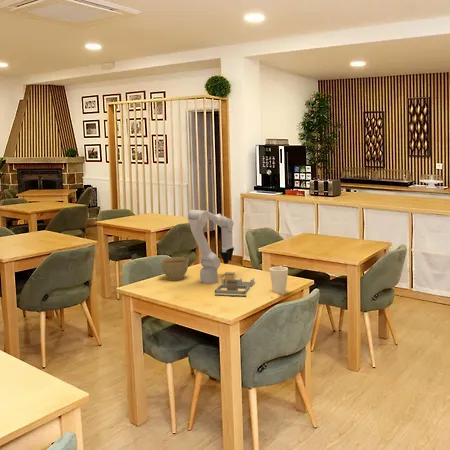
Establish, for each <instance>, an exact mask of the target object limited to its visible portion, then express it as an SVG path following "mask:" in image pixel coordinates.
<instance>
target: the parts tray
mask: <svg viewBox="0 0 450 450" xmlns="http://www.w3.org/2000/svg"><path fill="white" fill-rule="evenodd" d="M250 288H251V287H250V286H246V285H238V291H230V290H227V285H222V284H219V285H218V286H217V287H216V288H215V289H214V296H215V297H229V298H230V297H231V298H246V297H247V295H246V294H247V292H248V291H250ZM225 289H226V290H225ZM239 289H243V290H239Z"/></svg>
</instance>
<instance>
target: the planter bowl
mask: <svg viewBox="0 0 450 450" xmlns="http://www.w3.org/2000/svg"><path fill="white" fill-rule="evenodd" d="M189 260H190V259H189V258H188V257H182V256H181V257H178V256H177V257H176V256H175V257H174V256H173V257H168V258H167V257H166V258H164V259H163V258H162V260H161V261H160V264H161V270H162V272H163V274H164V275H165V276H166V279H167V280H169V279H170V280H169V281H179V279H180V280H183V279H185V276H186V274H187V272H188V269H189Z"/></svg>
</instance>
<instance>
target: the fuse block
mask: <svg viewBox="0 0 450 450" xmlns="http://www.w3.org/2000/svg"><path fill="white" fill-rule="evenodd" d="M234 280H238V285H246V286H250V288H253V286H254V285H255V284H256V281H255V278H254V277H251V278H250V281H243V277H235V279H234ZM221 285H227V284H225V276H223V277H222V279H221Z"/></svg>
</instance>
